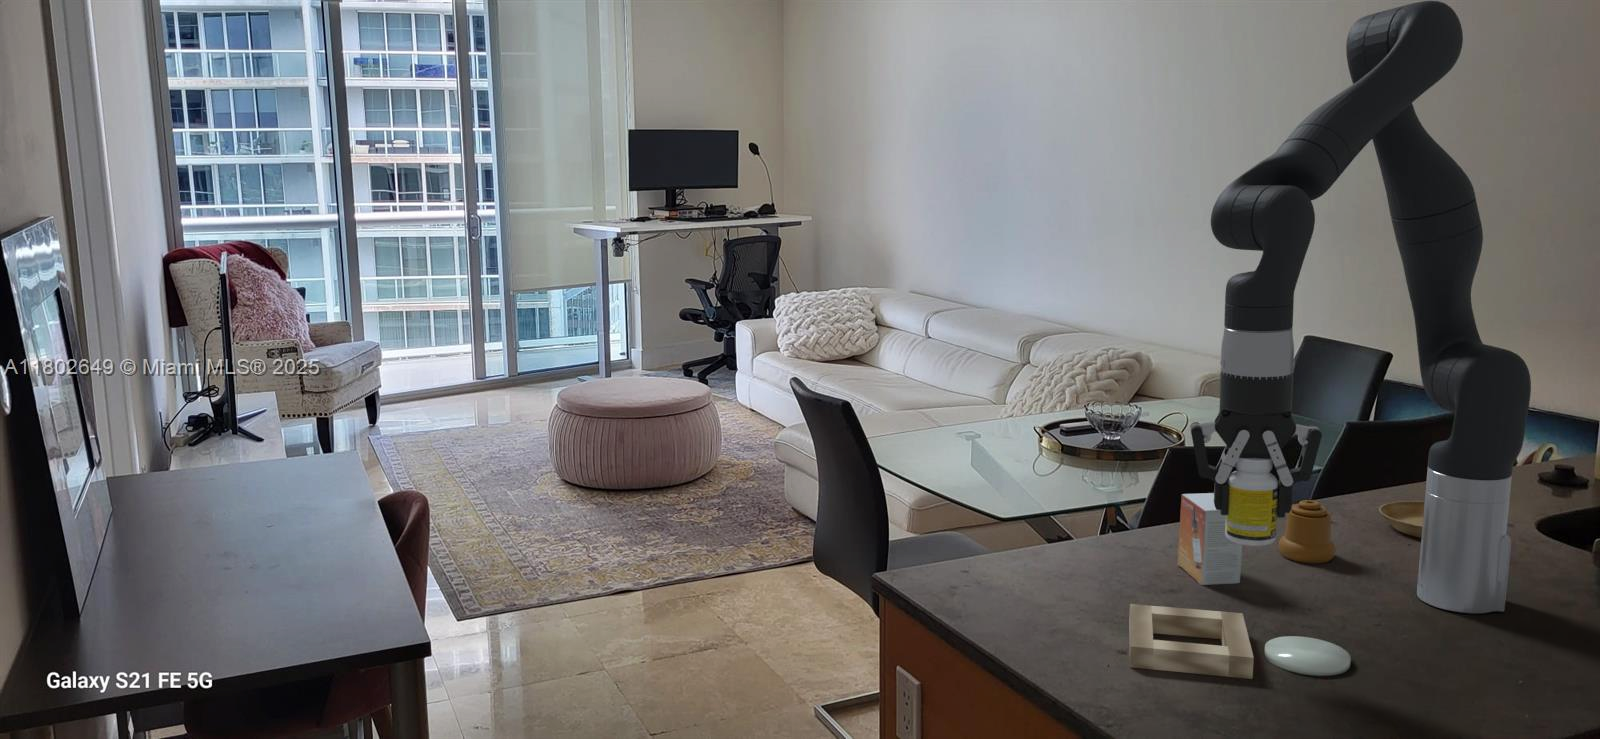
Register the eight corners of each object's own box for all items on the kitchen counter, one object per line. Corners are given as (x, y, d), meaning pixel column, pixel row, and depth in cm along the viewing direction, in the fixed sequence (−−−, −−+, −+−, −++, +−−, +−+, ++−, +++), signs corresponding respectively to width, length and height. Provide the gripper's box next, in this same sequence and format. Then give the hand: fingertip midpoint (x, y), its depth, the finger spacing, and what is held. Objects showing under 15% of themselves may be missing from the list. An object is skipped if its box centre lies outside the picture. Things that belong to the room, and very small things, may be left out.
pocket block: (1241, 632, 142) (1242, 613, 141) (1252, 679, 129) (1253, 657, 129) (1129, 623, 145) (1130, 603, 145) (1129, 667, 133) (1130, 646, 132)
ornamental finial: (1329, 568, 163) (1272, 559, 167) (1339, 553, 169) (1284, 544, 173) (1333, 513, 161) (1276, 504, 166) (1343, 499, 168) (1287, 492, 172)
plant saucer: (1356, 521, 184) (1357, 505, 183) (1431, 512, 188) (1432, 496, 188) (1432, 550, 170) (1433, 533, 169) (1511, 540, 174) (1513, 523, 174)
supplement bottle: (1280, 548, 130) (1283, 462, 129) (1228, 546, 132) (1231, 461, 130) (1271, 532, 136) (1274, 450, 134) (1222, 530, 137) (1224, 449, 135)
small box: (1176, 565, 165) (1180, 493, 163) (1215, 563, 165) (1219, 491, 163) (1200, 586, 157) (1204, 510, 155) (1241, 584, 158) (1245, 508, 156)
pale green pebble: (1342, 646, 137) (1343, 640, 137) (1357, 679, 129) (1357, 672, 129) (1260, 639, 140) (1260, 633, 140) (1269, 671, 131) (1269, 664, 131)
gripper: (1322, 362, 132) (1315, 507, 135) (1187, 360, 136) (1183, 502, 139) (1332, 375, 125) (1325, 528, 128) (1189, 373, 128) (1186, 521, 132)
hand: (1251, 513), depth 133 cm, fingers closed on supplement bottle, 5 cm apart
